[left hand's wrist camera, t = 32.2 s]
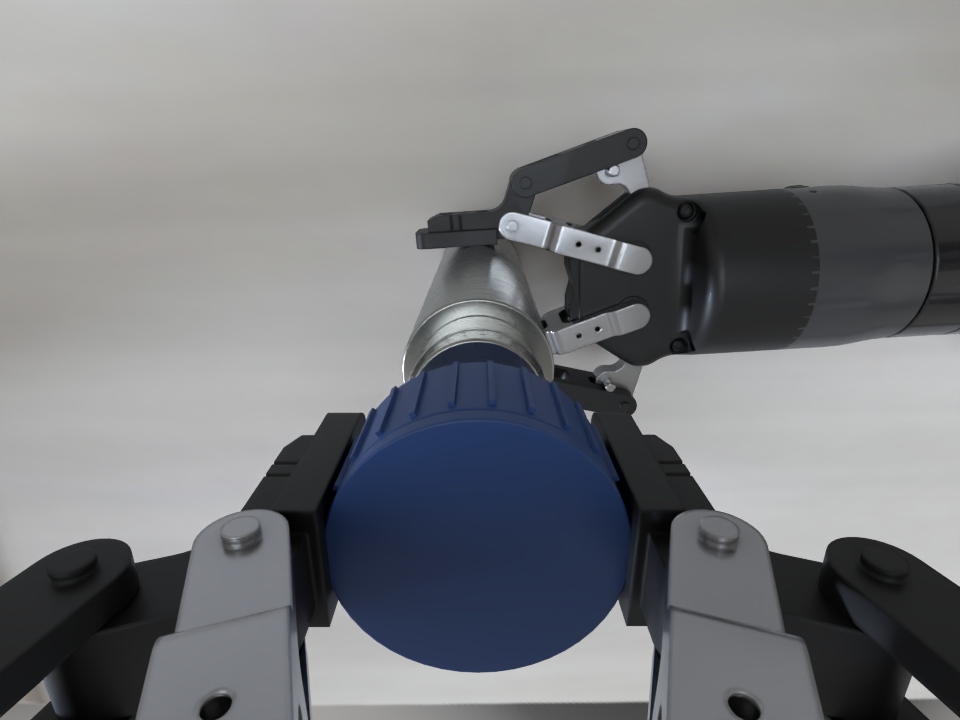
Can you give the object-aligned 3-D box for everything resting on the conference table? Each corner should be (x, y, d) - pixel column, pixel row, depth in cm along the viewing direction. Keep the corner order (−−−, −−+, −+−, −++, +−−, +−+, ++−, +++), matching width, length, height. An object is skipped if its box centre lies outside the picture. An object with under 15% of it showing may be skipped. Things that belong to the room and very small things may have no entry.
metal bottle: (436, 292, 33) (379, 462, 15) (450, 218, 32) (405, 303, 13) (508, 307, 34) (541, 492, 15) (525, 234, 32) (585, 340, 14)
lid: (656, 435, 11) (704, 509, 8) (520, 611, 12) (529, 715, 10) (427, 308, 10) (412, 353, 8) (310, 515, 11) (268, 604, 9)
